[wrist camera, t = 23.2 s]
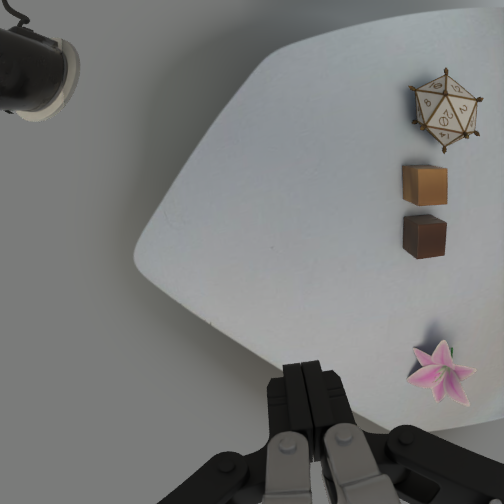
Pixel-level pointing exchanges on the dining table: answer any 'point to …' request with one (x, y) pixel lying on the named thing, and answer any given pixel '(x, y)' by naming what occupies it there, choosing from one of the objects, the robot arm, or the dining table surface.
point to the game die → (446, 110)
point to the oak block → (425, 185)
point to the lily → (441, 374)
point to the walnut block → (424, 236)
